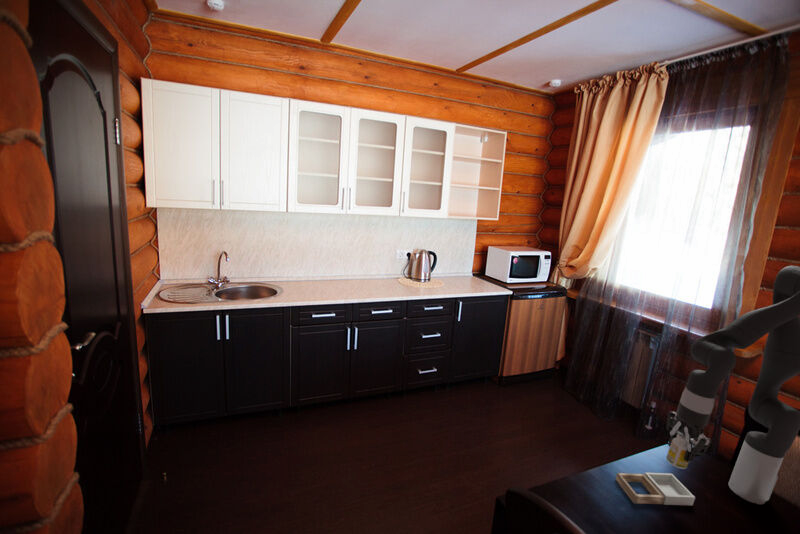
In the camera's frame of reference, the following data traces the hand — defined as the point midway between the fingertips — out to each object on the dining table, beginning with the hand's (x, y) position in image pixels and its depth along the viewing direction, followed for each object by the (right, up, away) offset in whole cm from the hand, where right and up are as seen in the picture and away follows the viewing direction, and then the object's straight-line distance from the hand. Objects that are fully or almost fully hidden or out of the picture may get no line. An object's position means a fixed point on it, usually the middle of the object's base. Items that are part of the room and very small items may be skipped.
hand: (679, 453), depth 116 cm
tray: (-2, -14, +3) cm, 14 cm away
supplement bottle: (0, -4, +1) cm, 4 cm away
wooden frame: (-11, -13, +3) cm, 17 cm away
